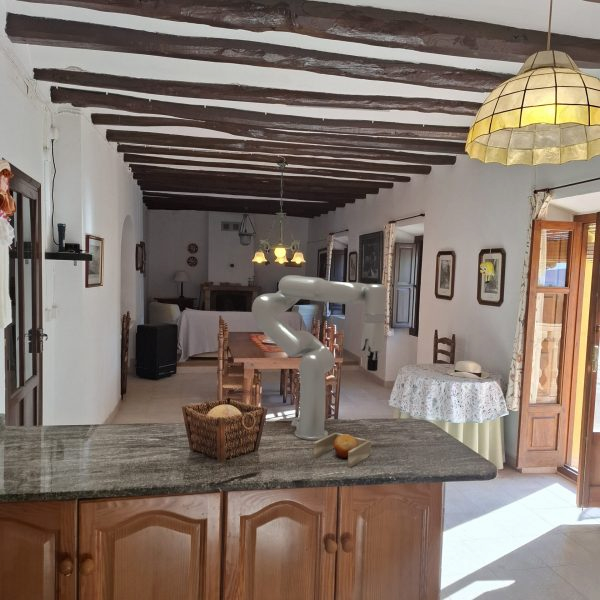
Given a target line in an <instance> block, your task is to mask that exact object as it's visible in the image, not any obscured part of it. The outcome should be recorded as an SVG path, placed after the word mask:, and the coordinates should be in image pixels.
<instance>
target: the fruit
mask: <svg viewBox="0 0 600 600" xmlns="http://www.w3.org/2000/svg"><path fill="white" fill-rule="evenodd" d="M354 437H355V436H353V435H351V434H347V433H346V434H344V435H340V436H338V437H337V438H336V439H335V441H334V449H333V450H334V451H335V453H336V454H337V456H338V457H339V458H341V459H344V458H346V459H348V451H350V450H352V449H354V448H356V447H357V446H358V443H357V440H356V439H355V438H354Z"/></svg>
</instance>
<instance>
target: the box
mask: <svg viewBox="0 0 600 600" xmlns="http://www.w3.org/2000/svg"><path fill="white" fill-rule="evenodd" d="M340 435H344V434H343V433H340V432H335V431H334V432H332V433H331V434H328V436H326V437H324V438H322V439H320V440H315V441H314V442H313V449H312V451H313V452H312V457H314V459H317V458H319V457H321V456H322V455H325V454H326V453H328V452H330V451H332V450H334V449H333V448H334V441H335V439H336V438H337V437H338V436H340ZM353 437H354V438H355V439H356V440H357V443H358V446H357V447H356V448H354V449H352V450H350V451H348V458H347V468H350V469H351V468H352V467H353V468H354V466H356V465H358V464H359V463H361V462H362V461H364V460H365V459H367V458H369V457H370V456H371V451H372V450H371V449H372V447H371V445H372V441H371V440H368V439H364V438H359V437H355V436H353ZM331 449H332V450H331ZM329 450H330V451H329ZM368 456H369V457H368Z"/></svg>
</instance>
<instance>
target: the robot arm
mask: <svg viewBox="0 0 600 600" xmlns="http://www.w3.org/2000/svg"><path fill="white" fill-rule="evenodd" d="M387 293H388V292H387V286H386V285H385V284H382V283H381V284H380V283H362V282H343V281H342V282H341V281H332V280H326V279H323V278H322V277H313V276H302V275H297V274H296V275H294V274H292V275H290V274H289V275H285V276H282V278H281V279H280V280H279V283H278V291H276V292H274V293H272V292H271V293H263V294H260V295H258V296H257V297H256V298H255V299H254V301H253V303H252V306H251V315H252V319H253V321H254V324H256V326H257V327H258V328H259V329H260V330H261V332H263V333H264V334H265V335H266V336H267V337H268V338H269V339H270V340H271V341H272V342H273V343H274V344H275V345H277V347H279V348H280V349H281V350H282V352H283V353H285V354H286V355H287V356H289V357H290V358H298V357H300V356H301V359H300V361H299V364H298V367H299V368H298V369H299V370H298V371H299V378H300V379H299V383H300V385H299V386H300V389H299V390H300V391H299V413H298V414H299V417H298V419H299V420H298V419H294V418H293V419H292V421H291V423H290V426H292V427H296V429H295V430H294V436H295V437H297V438H299V439H302V440H307V441H308V440H309V441H318V440H320V439H322V438H324V437H326V436H328V435H329V431H328V430H326V429H325V417H326V416H325V415H326V396H327V395H326V394H327V393H326V392H327V391H326V388H327V386H326V385H327V384H326V379H325V378H326V377H325V374H326V373H328V372H330V371H331V370H332V369H333V368H334V366H335V360H336V359H335V355H334V354H333V353H332V352H331V350H330V349H329V348H328V347H327V346H326V345H325V344H323V343H322V342H321V341H320V340H319V339H318V338H317V337H316V336H314V334H312V333H311V332H309V331H307V330H295V329H294V328H293V327H291V326H290V325H289V324H288V323H287V322H286V321H284V319H282V318H280V317H279V316H277V315H281V314H283V313H285V312H286V311H288V310H289V309H291V308H292V307H293V305H296V303H298V301H300V300H307V301H308V300H309V301H315V302H316V301H317V302H324V303H325V302H326V303H332V304H333V303H334V304H340V305H341V304H344V305H354V304H355V305H356V304H363V303H364V306H363V307H364V310H363V324H362V329H361V336H360V337H361V338H360V350H361V351H363V352H364V356H366V359H367V365H366V366H367V367H366V370H367V371H371V372H377V371H378V360H379V354H380V353H381V352H382V351H383V349H384V347H385V324H386V311H387V310H386V309H387V308H386V307H387Z"/></svg>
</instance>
